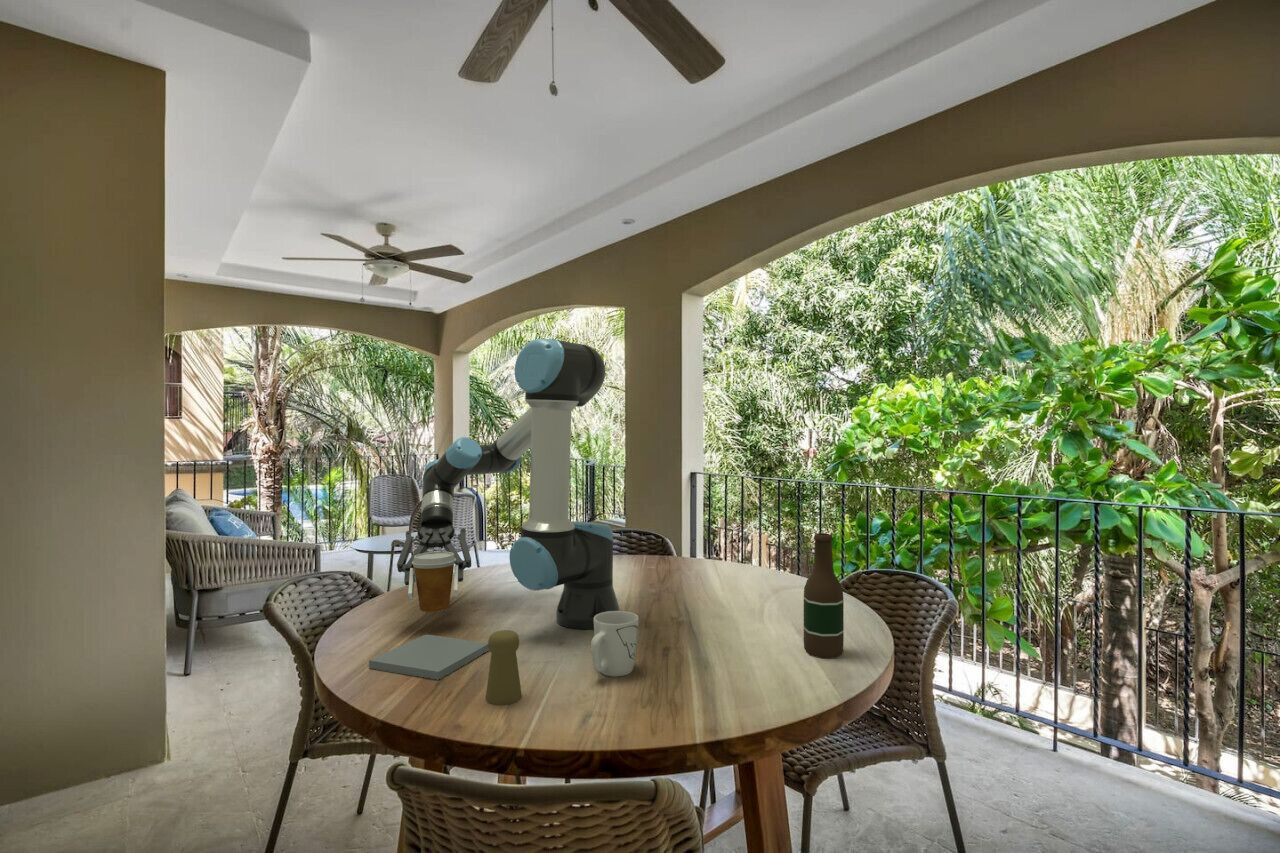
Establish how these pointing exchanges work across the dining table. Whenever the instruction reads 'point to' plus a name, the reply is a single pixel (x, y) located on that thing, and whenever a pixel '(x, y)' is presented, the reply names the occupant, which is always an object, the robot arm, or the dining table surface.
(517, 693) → the olive pawn
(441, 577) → the disposable coffee cup
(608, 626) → the mug
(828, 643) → the beer bottle
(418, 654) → the slate board
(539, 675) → the dining table surface
